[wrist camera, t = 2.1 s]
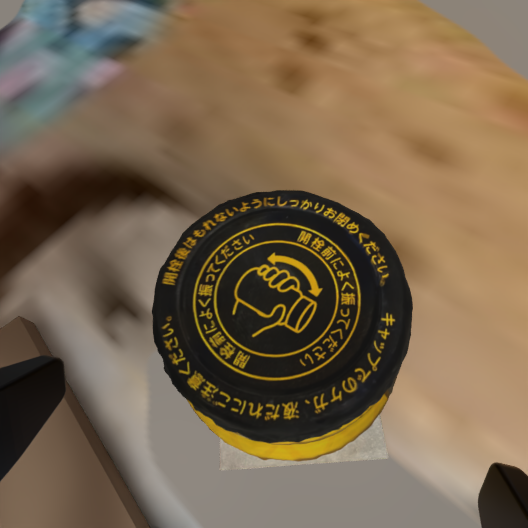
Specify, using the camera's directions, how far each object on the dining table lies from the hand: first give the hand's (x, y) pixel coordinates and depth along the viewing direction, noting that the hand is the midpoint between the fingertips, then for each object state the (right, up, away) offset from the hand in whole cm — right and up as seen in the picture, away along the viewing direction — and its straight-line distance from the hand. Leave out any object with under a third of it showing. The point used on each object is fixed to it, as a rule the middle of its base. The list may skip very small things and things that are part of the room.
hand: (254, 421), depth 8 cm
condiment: (+2, -2, +11) cm, 11 cm away
